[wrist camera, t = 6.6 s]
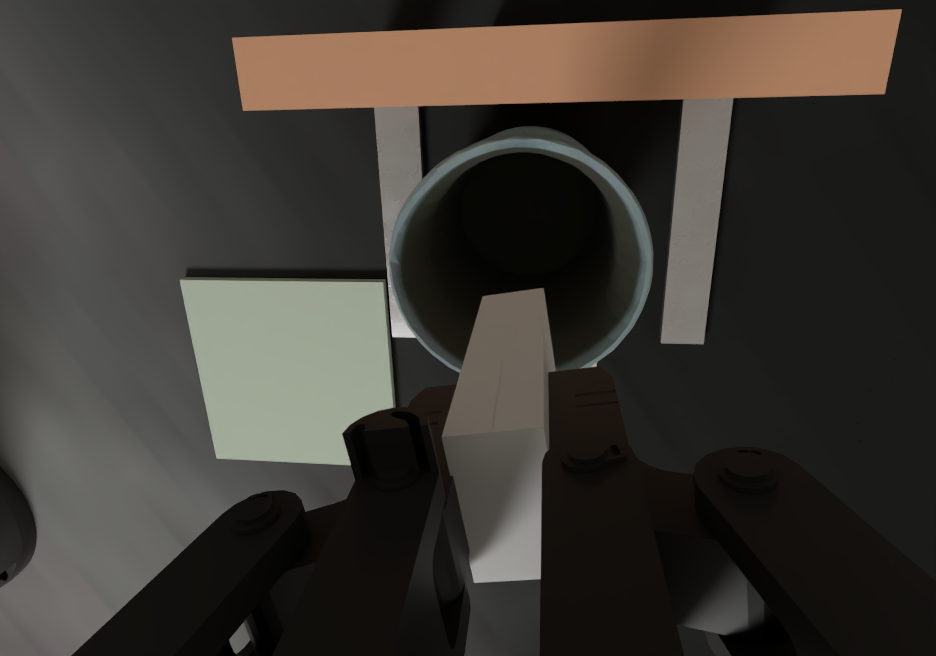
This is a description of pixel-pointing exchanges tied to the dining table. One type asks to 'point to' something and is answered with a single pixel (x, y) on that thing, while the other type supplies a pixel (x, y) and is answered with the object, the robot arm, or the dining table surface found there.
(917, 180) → the dining table surface
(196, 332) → the coaster
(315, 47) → the wooden arch
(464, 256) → the grey open tube
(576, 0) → the dining table surface
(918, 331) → the dining table surface
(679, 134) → the rails
